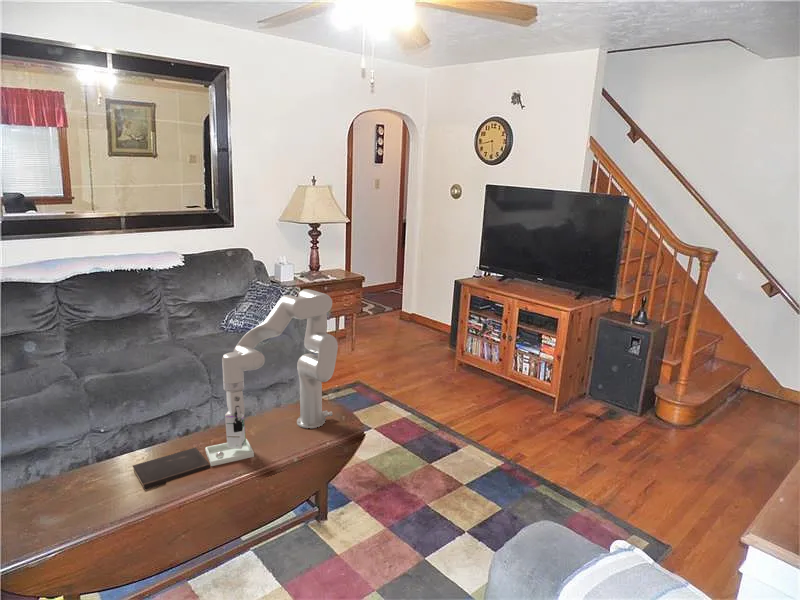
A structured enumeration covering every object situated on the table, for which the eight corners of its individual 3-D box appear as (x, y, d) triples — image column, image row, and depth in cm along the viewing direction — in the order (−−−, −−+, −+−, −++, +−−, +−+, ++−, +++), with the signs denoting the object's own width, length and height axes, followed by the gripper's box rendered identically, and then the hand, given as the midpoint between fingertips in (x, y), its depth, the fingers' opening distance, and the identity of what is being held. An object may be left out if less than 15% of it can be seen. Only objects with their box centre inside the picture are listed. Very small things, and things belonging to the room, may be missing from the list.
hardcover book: (133, 471, 199) (132, 465, 198) (196, 452, 213) (195, 447, 212) (144, 491, 187) (143, 485, 186) (210, 470, 201) (210, 464, 200)
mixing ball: (223, 456, 209) (222, 449, 208) (224, 459, 206) (224, 452, 205) (215, 457, 207) (214, 450, 206) (216, 461, 205) (216, 454, 204)
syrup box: (241, 449, 209) (240, 414, 206) (226, 448, 209) (224, 414, 206) (246, 441, 215) (244, 408, 211) (231, 441, 215) (229, 407, 211)
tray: (246, 444, 219) (246, 438, 219) (254, 457, 209) (253, 452, 208) (205, 452, 212) (205, 447, 211) (211, 467, 201) (210, 461, 201)
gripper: (249, 391, 200) (250, 434, 204) (238, 375, 215) (240, 416, 219) (228, 394, 197) (230, 438, 201) (219, 378, 211) (221, 419, 216)
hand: (235, 426), depth 210 cm, fingers closed on syrup box, 7 cm apart
